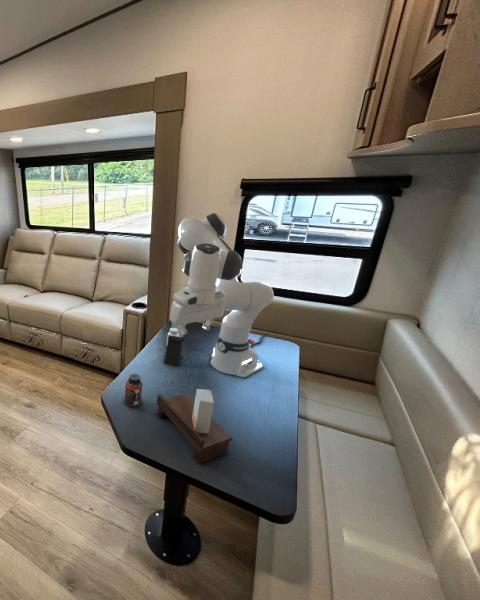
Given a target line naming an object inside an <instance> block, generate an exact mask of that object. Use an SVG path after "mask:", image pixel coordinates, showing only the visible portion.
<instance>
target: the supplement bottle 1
mask: <svg viewBox="0 0 480 600" xmlns="http://www.w3.org/2000/svg"><path fill="white" fill-rule="evenodd" d="M142 393H143V382H142V380H141V375H139V374H137V373H131V374H129V375H128V379H127V380H126V381H125V393H124V402H125V404H126V405H127V406H129V407H132V408H133V407H134V408H135V407H138V406H140V405H141V402H142Z"/></svg>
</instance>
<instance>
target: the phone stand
mask: <svg viewBox="0 0 480 600" xmlns="http://www.w3.org/2000/svg"><path fill="white" fill-rule="evenodd" d="M183 339H184V337H183V338H181V337H176V336H171V335H169V337H168V343H167V342H166V345H167V346H166V350H165V357H164V361H163V362H164V364H167V365H170V366H177V367H178V366H179V363H180V361H181V355H182V346H183Z"/></svg>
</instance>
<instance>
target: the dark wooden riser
mask: <svg viewBox="0 0 480 600" xmlns="http://www.w3.org/2000/svg"><path fill="white" fill-rule="evenodd" d="M194 403H195V400H193V399H191V398H190V397H189V396H188V395H187V394H186V393H183V394H178V395H174V396H172V397H169V398H164V396H163V395H162V394H161V393H159V394H158V393H157V398H156V406H157V407H158V410H157V416H158V417H159V418H160V419H163V418H166V417H167V418H168V419H169V420H170V421H171V422H172V423H173V424H174V426H175V427H176V428H177V429H178V430H179V431H180V432H181V433H182V435H184V436H185V438H187V440H188V441H189V442H190V443H191V444H192V445H193V446H194V448H195V449H196V456H195V459H196V460H197V461H198V463H200V464H202V463H205V462H208V461H210V460H214V459H215V458H218V457H221V456H224V455H227V454H228V453H227V452H228V448H229V443H230V442H232V441H233V436H231V435H230V434H229V433H228V432H227V431H226V430H225V429H224V428H223V427H221V425H220V424H219V423H217V422H216V420H214V419H213V417H212V418H211V423H210V428H209V434H205V433H197V432H196V431H195V430H194V425H193V421H192V416H193V410H194Z"/></svg>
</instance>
